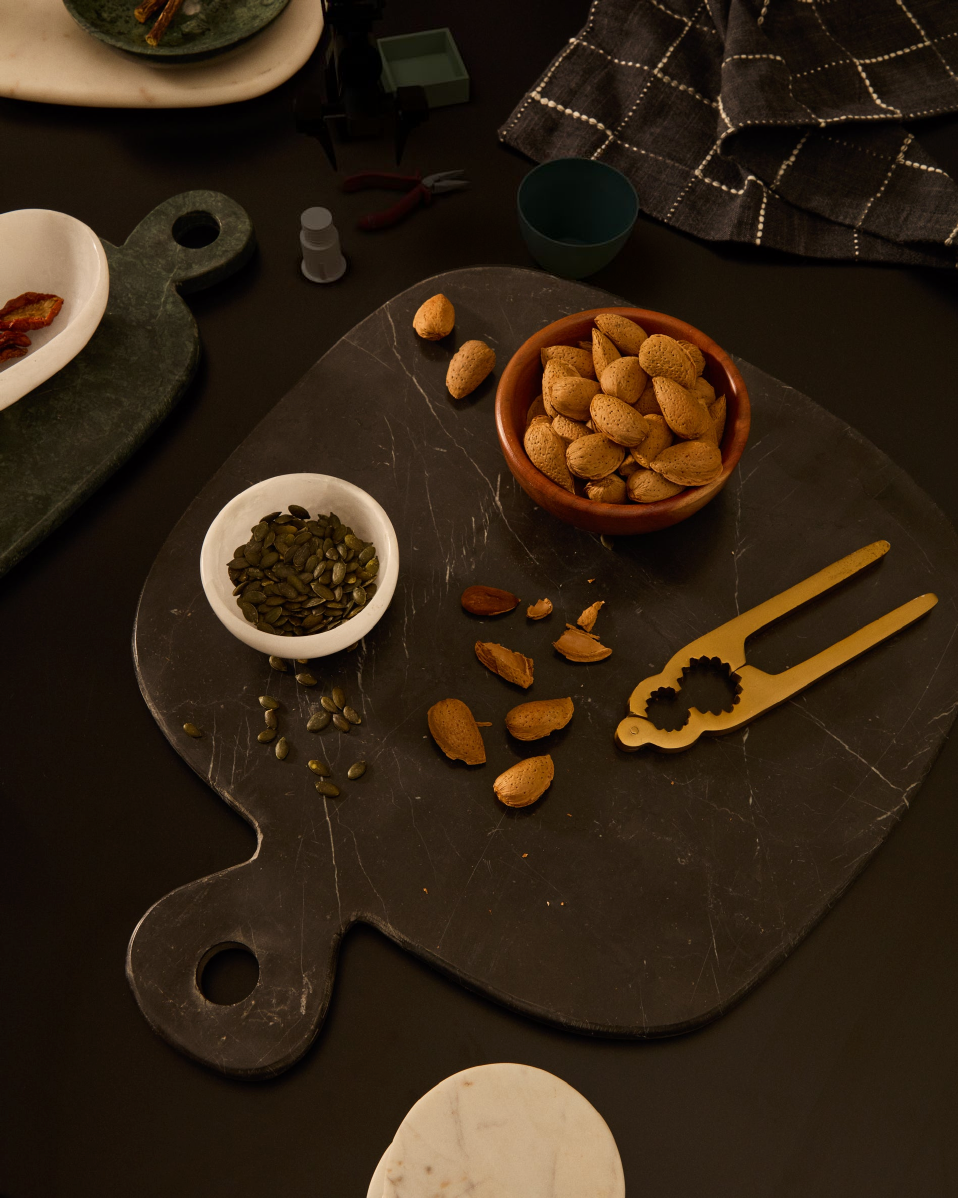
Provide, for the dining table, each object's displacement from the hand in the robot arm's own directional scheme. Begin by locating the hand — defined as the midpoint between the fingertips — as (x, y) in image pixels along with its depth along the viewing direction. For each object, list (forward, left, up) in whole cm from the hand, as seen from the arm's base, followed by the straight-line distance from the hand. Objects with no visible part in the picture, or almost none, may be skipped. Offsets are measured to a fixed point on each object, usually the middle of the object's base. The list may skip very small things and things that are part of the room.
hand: (367, 167), depth 144 cm
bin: (-34, +17, -14) cm, 41 cm away
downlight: (+4, -9, -14) cm, 17 cm away
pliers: (-6, +7, -14) cm, 17 cm away
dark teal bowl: (+12, +29, -14) cm, 35 cm away
